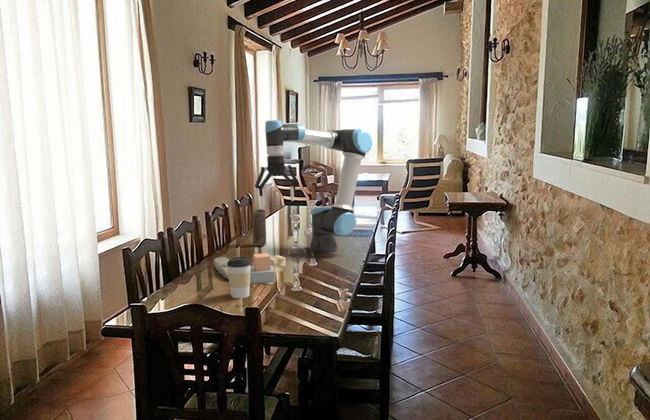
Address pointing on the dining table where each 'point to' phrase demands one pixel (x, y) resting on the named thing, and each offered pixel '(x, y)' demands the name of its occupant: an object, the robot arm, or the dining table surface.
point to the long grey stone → (222, 266)
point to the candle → (259, 227)
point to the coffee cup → (239, 276)
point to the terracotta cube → (261, 262)
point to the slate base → (262, 276)
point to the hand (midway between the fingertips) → (278, 201)
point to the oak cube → (278, 263)
